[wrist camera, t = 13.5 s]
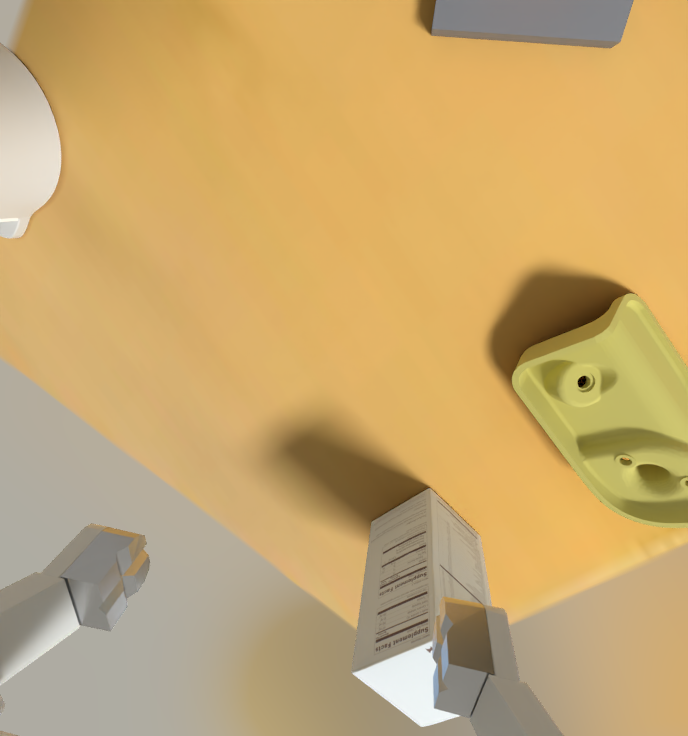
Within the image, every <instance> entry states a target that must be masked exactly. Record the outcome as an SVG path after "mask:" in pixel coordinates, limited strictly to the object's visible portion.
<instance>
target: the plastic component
mask: <svg viewBox="0 0 688 736" xmlns="http://www.w3.org/2000/svg"><path fill="white" fill-rule="evenodd" d="M581 376H585V377H586V384H585V385H584V386H583V387H578V384H577V383H578V379H579V378H580V377H581ZM512 385H513V388H514V390H515V392H516V393H517V394H518V396H519V397H520V398H521V400H522V401H523V402H524V404H525V405H526V406H527V408H528V409H529V410H530V412H531V413H532V414H533V416H534V417H535V418H536V420H537V421H538V422H539V424H540V425H541V426H542V428H543V429H544V430H545V432H546V433H547V434H548V436H549V437H550V438H551V440H552V441H553V442H554V444H555V445H556V446H557V448H558V449H559V450H560V452H561V453H562V454H563V456H564V457H565V458H566V460H567V461H568V462H569V464H570V465H571V466H572V468H573V469H574V470H575V472H576V473H577V474H578V476H579V477H580V478H581V480H582V481H583V482H584V483H585V485H586V486H587V487H588V488H589V490H590V491H591V492H592V493H593V494H594V495H595V496H596V497H597V498H598V499H599V500H600V501H601V502H602V503H603V504H604V505H605V506H607V507H608V508H609V509H611V510H612V511H614V512H616V513H617V514H619V515H621V516H623V517H625V518H627V519H630V520H633V521H635V522H638V523H642V524H646V525H650V526H656V527H664V528H688V481H687V480H688V367H687V366H686V364H685V363H684V361H683V360H682V358H681V357H680V355H679V354H678V352H677V350H676V349H675V347H674V346H673V344H672V343H671V341H670V340H669V338H668V337H667V335H666V334H665V332H664V331H663V329H662V328H661V326H660V325H659V323H658V322H657V320H656V318H655V317H654V315H653V314H652V312H651V311H650V309H649V308H648V306H647V305H646V303H645V302H644V301H643V300H642V299H641V298H640V297H639V296H637V295H636V294H632V293H629V294H626V295H623V296H621V297H619V298H617V299H615V300H614V301H613V302H612V304H611V306H610V308H609V310H608V311H607V312H606V313H605V314H604V315H602V316H601V317H599V318H598V319H596V320H595V321H593V322H591V323H589V324H586V325H584V326H581V327H579V328H576V329H574V330H571V331H569V332H566V333H563V334H561V335H558V336H556V337H553V338H551V339H548V340H546V341H543V342H541V343H538V344H536V345H533V346H531V347H529V348H528V349H526V350H525V351H524V353H523V354H522V355H521V358H520V360H519V362H518V364H517V366H516V368H515V371H514V373H513V375H512ZM623 457H624V458H629V459H630V460H624V459H622V458H623Z"/></svg>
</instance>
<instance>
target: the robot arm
mask: <svg viewBox="0 0 688 736" xmlns="http://www.w3.org/2000/svg"><path fill="white" fill-rule="evenodd" d="M60 169H61V146H60V139H59V134H58V129H57V126H56V122H55V119H54V116H53V113H52V111H51V108H50V106H49V103H48V101H47V99H46V97H45V95H44V93H43V92H42V90H41V88H40V86H39V85H38V83H37V82H36V80H35V79H34V77H33V76H32V74H31V73H30V72H29V71H28V69H27V68H26V67H25V66H24V65H23V63H22V62H21V61H20V60H19V59H18V58H17V57H16V56H15V55H14V54H13V53H12V52H11V51H9V50H8V49H7V48H6V47H5V46H3V45H2V44H1V43H0V236H2V237H4V238H20V237H21V236H22V235H23V234H24V233H25V230H26V228H27V225H28V223H29V220H30V217H31V215H32V214H33V213H34V212H35V211H36V210H38V209H39V208H40V207H42V206H43V205H44V204H45V203H46V202H47V201H48V200H49V198H50V197H51V196H52V194H53V192H54V190H55V188H56V186H57V183H58V179H59V175H60ZM145 545H146V539H145V536H144V535H140V534H136V533H132V532H127V531H123V530H119V529H114V528H110V527H106V526H101V525H96V524H90V525H88V526H86V527H85V528H84V529H83V530H82V531H81V532H80V533H79V534H78V535H77V536H76V537H75V538H74V539H73V540H72V541H71V542H70V543H69V544H68V545H67V546H66V548H65V549H64V550H63V551H62V552H61V553H60V554H59V555H58V556H57V557H56V558H55V559H54V560H53V561H52V562H51V563H50V564H49V565H48V566H47V567H46V568H45V569H44V570H43V572H42V573H37V572H36V573H33V574H31V575H30V576H27V577H25V578H23V579H21V580H20V581H17V582H15V583H14V584H11V585H10V586H7V587H5V588H4V589H2V590H0V685H1V684H3V683H4V682H6V681H7V680H8V679H10V678H11V677H12V676H14V675H15V674H17V673H18V672H19V671H20V670H22V669H23V668H25V667H26V666H28V665H29V664H30V663H32V662H33V661H34V660H36V659H37V658H39V657H40V656H41V655H43V654H44V653H45V652H47V651H48V650H50V649H51V648H52V647H53V646H55V645H56V644H58V643H59V642H60V641H62V640H63V639H64V638H66V637H67V636H69V635H70V634H72V633H73V632H74V631H76V630H77V629H78V628H80V625H82V626H87V627H92V628H97V629H102V630H106V631H111V630H112V629H113V627H114V626H115V624H116V623H117V621H118V620H119V618H120V617H121V615H122V614H123V613H124V611H125V610H126V608H127V598H128V597H129V596H131V595H133V594H134V593H136V592H138V590H139V589H140V587H141V585H142V584H143V583H144V581H145V579H146V576H147V573H148V571H149V564H150V560H149V555H148V554H147V553H146V552H145V551H144V550H143V548H144V547H145ZM439 607H440V615H438V616H436V620H435V624H434V630H433V642H432V657H433V659H434V661H435V663H436V664H437V665H436V669H435V672H434V675H433V695H434V709H438V710H441V711H445V712H449V713H453V714H456V715H460V716H464V717H467V718H471V719H470V722H471V724H472V726H473V727H474V730H475V732H476V734H477V736H564V735H563V733H562V732H561V731H560V729H559V728H558V726H557V725H556V724H555V722H554V721H553V719H552V718H551V716H550V715H549V714H548V712H547V711H546V709H545V708H544V707H543V705H542V704H541V702H540V701H539V700H538V698H537V697H536V695H535V694H534V693H533V691H532V690H531V688H530V687H529V686H528V684H527V683H525V682H521V681H520V678H519V673H518V668H517V663H516V658H515V653H514V648H513V643H512V637H511V632H510V628H509V622H508V617H507V613H506V612H505V610H504V609H503V608H498V607H493V606H487V605H482V604H481V603H476V602H470V601H465V600H460V599H455V598H449V597H444V596H443V597H442V599H441V602H440V605H439ZM4 706H5V703H4V701H3V699H2V697H1V695H0V715H1V714H2V712H3V711H4ZM0 736H18V735H14V734H11V733H7V732H3V731H0Z"/></svg>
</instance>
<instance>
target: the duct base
mask: <svg viewBox="0 0 688 736" xmlns="http://www.w3.org/2000/svg"><path fill="white" fill-rule="evenodd" d="M632 4H633V0H436V5H435V11H434V18H433V25H432V35H431V36H445V37H459V38H473V39H487V40H501V41H516V42H530V43H544V44H558V45H572V46H586V47H600V48H612V47H613V46H615V45H616V44H618V43H619V42H621V38H622V35H623V32H624V29H625V26H626V23H627V19H628V16H629V13H630V10H631V7H632Z"/></svg>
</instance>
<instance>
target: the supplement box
mask: <svg viewBox="0 0 688 736" xmlns="http://www.w3.org/2000/svg"><path fill="white" fill-rule="evenodd" d="M443 596H444V597H449V598H455V599H460V600H465V601H470V602H476V603H481V604H482V605H487V606H492V604H491V597H490V590H489V584H488V578H487V572H486V566H485V560H484V554H483V548H482V542H481V537H480V535H479V534H478V533H477V532H476V531H475V530H474V529H472V528H471V527H470V526H469V525H468V524H467V523H466V522H465V521H464V520H463V519H462V518H461V517H460V516H459V515H458V514H457V513H456V512H455V511H454V510H453V509H452V508H451V507H450V506H448V505H447V504H446V503H445V502H444V501H443V500H442V499H441V498H440V497H439V496H438V495H437V494H436V493H435V492H434V491H433V490H432V489H431V488H428V489H426V490H425V491H423V492H421V493H419V494H418V495H416V496H414V497H413V498H411V499H409V500H408V501H406V502H404V503H403V504H401V505H399V506H397V507H396V508H394V509H392V510H391V511H389V512H387V513H386V514H384V515H382V516H381V517H379V518H377V519H375V520H374V521H372V522H371V529H370V537H369V544H368V552H367V559H366V567H365V574H364V582H363V589H362V597H361V605H360V612H359V619H358V627H357V634H356V642H355V649H354V656H353V664H352V674H354V675H355V676H356V677H357V678H359V679H360V680H361V681H363V682H364V683H365V684H367V685H368V686H369V687H371V688H372V689H373V690H374V691H376V692H377V693H378V694H380V695H381V696H382V697H383V698H385V699H386V700H387V701H389V702H390V703H391V704H393V705H394V706H395V707H396V708H398V709H399V710H400V711H401V712H403V713H404V714H405V715H407V716H408V717H409V718H411V719H412V720H413V721H415V722H416V723H417V724H418V725H420V726H421V727H423V726H428V725H432V724H436V723H439V722H442V721H445V720H448V719H451V718H455V717H458V716H460V715H456V714H453V713H449V712H445V711H441V710H438V709H434V695H433V675H434V672H435V669H436V665H437V664H436V663H435V661H434V659H433V657H432V642H433V630H434V624H435V620H436V616H438V615H440V607H439V605H440V602H441V599H442V597H443Z"/></svg>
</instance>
